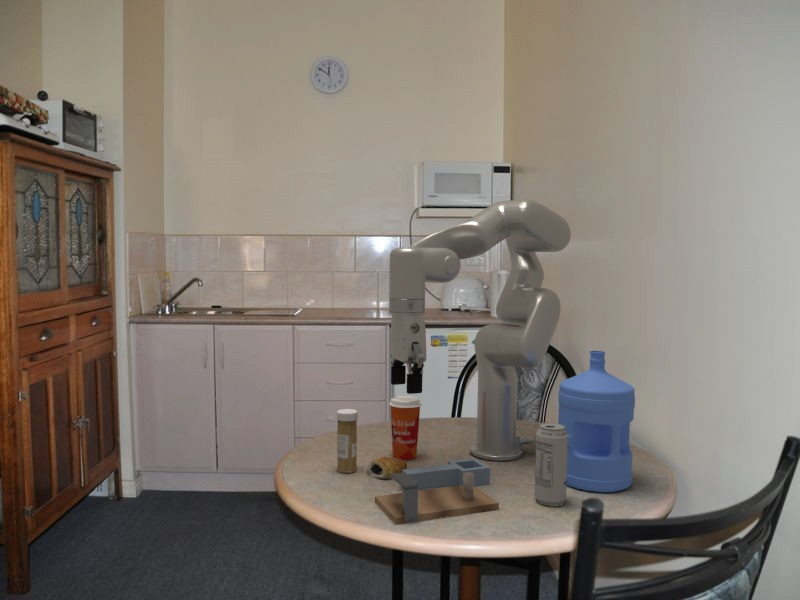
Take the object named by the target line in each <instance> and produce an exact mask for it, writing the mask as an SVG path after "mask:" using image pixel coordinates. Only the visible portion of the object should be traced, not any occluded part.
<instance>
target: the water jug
mask: <svg viewBox="0 0 800 600" xmlns="http://www.w3.org/2000/svg"><path fill="white" fill-rule="evenodd" d="M589 354H590V358H589V368H588V369H587V371H584V372H582V373H578V374H576V375H574V376H572V377H569V378H566V379H564V380H562V381H561V382H560V383H559V390H558V420H557V421H558V422H557V424H561V425H563V426H565V431H566V433H567V435H568V450H567V482H566V486H569V487H571V488H573V487H574V489H577V490H580V489H582V491H585V490H587V491H586V492H591V491H594V492H593V493H615V492H621V490H622V491H624V489H625V490H626V489H628V488H629V487H630V486H631V485H632V483H633V472H632V471H633V470H632V468H633V452H632V450H631V447H630V432H631V431H630V430H631V429H630V427H631V425H630V424H631V422H633V421H634V416H635V414H634V413H635V407H636V396H635V388H634V387H633V385H632V384H629V383H628V382H626V381H624V380H622V379H620V378H618V377H617V376H615V375H613V374H611V373H609V372H607V370H606V369H605V364H606V359H605V356H606V351H603V350H590V351H589Z"/></svg>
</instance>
